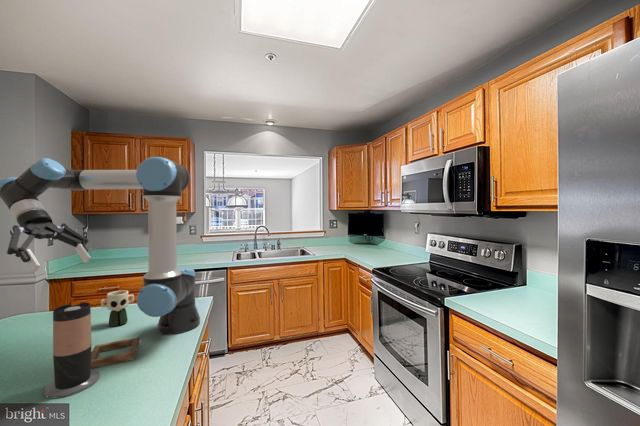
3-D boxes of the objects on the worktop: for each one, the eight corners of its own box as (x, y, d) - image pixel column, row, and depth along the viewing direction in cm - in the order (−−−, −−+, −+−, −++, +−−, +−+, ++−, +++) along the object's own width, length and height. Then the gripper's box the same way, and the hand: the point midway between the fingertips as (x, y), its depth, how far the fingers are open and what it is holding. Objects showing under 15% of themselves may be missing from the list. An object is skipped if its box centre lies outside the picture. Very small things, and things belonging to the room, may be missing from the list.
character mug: (101, 330, 107) (101, 297, 106) (100, 325, 112) (100, 293, 112) (135, 323, 114) (135, 291, 113) (133, 318, 119) (132, 288, 119)
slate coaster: (103, 368, 81) (103, 365, 81) (94, 389, 72) (94, 386, 72) (53, 379, 76) (53, 376, 76) (36, 403, 67) (36, 400, 66)
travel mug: (69, 392, 69) (68, 313, 69) (45, 388, 71) (44, 311, 71) (99, 374, 77) (98, 303, 77) (77, 371, 79) (76, 301, 78)
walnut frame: (138, 342, 97) (138, 337, 97) (134, 359, 86) (134, 352, 86) (95, 351, 91) (95, 345, 91) (85, 369, 81) (85, 362, 81)
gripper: (70, 222, 104) (99, 264, 99) (-30, 226, 80) (4, 282, 76) (80, 208, 102) (110, 250, 98) (-19, 208, 78) (16, 263, 74)
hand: (64, 264), depth 87 cm, fingers open, 13 cm apart
